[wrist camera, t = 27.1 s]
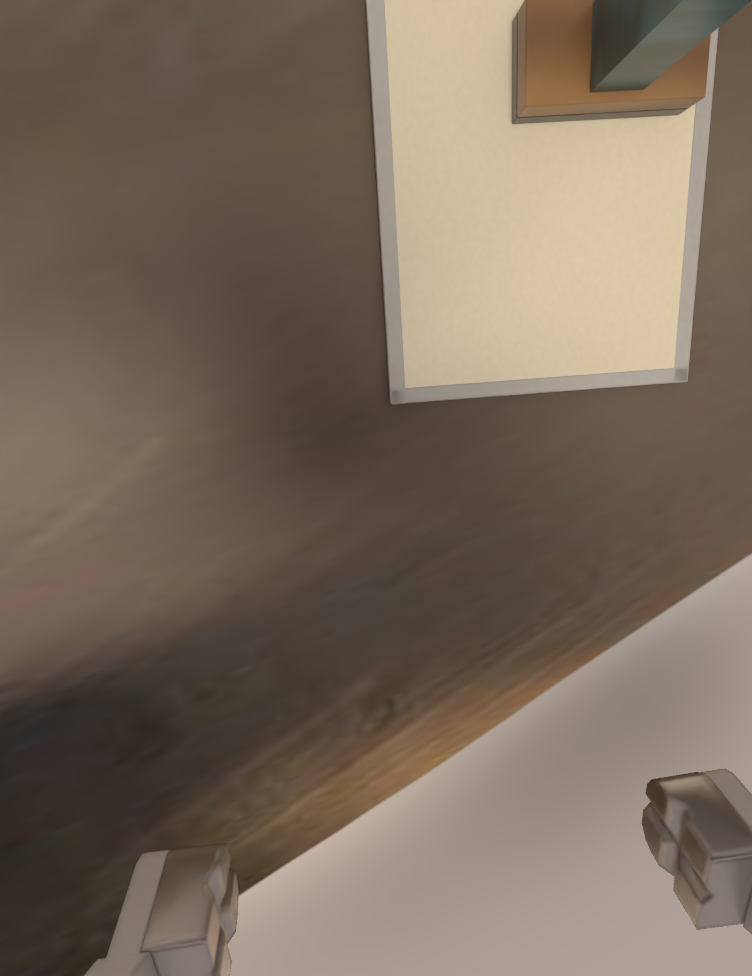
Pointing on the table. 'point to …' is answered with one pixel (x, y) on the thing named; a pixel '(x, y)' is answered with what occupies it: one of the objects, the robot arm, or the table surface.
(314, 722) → the table surface
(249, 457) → the table surface
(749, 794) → the robot arm
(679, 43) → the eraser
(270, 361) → the table surface
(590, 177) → the whiteboard
